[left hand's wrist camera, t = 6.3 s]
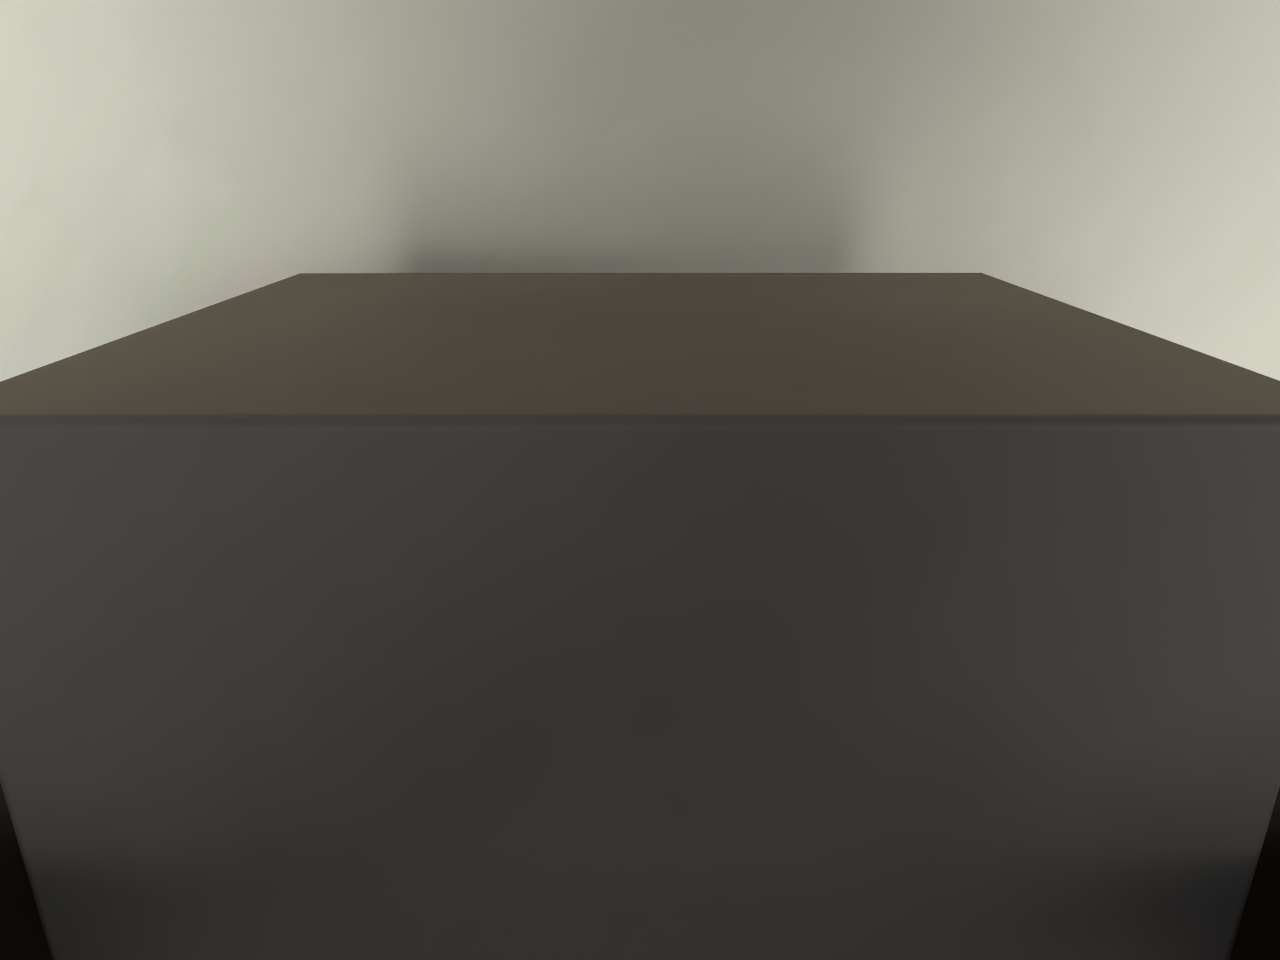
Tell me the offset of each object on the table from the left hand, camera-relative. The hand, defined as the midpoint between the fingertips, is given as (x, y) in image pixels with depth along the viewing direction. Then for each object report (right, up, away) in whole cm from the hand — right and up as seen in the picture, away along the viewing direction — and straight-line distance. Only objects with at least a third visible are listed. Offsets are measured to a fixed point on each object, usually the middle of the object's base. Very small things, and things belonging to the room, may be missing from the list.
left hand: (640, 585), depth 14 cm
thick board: (0, -28, +11) cm, 30 cm away
